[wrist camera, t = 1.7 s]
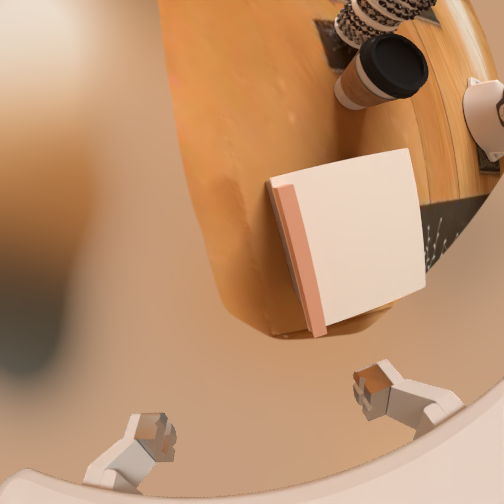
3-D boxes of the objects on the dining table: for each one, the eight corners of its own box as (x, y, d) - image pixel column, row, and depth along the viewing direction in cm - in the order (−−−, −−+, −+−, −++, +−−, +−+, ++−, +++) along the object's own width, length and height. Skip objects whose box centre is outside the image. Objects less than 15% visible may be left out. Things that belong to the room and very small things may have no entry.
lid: (403, 148, 27) (422, 146, 23) (421, 284, 31) (438, 294, 28) (268, 178, 27) (274, 177, 23) (307, 327, 32) (315, 345, 28)
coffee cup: (384, 107, 35) (442, 83, 20) (345, 126, 36) (398, 103, 21) (356, 63, 33) (403, 24, 18) (315, 80, 33) (353, 35, 19)
